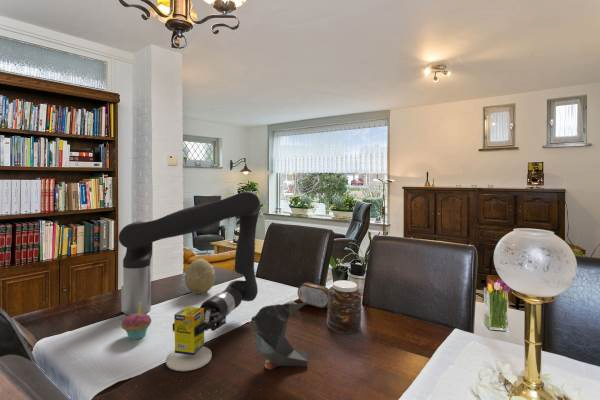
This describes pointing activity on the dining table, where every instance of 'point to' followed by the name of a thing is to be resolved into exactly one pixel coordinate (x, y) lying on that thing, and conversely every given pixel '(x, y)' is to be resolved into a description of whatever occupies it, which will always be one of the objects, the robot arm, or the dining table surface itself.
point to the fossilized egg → (199, 276)
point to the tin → (313, 295)
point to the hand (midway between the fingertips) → (184, 330)
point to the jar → (344, 307)
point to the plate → (188, 360)
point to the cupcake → (136, 324)
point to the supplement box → (188, 330)
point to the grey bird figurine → (277, 335)
